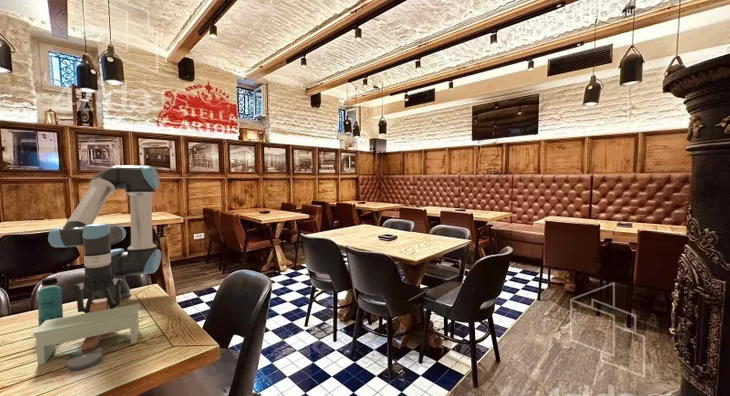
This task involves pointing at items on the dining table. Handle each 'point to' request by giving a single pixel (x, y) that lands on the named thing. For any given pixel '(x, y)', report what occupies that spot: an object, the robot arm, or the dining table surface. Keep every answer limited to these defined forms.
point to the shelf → (85, 328)
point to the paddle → (95, 306)
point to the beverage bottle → (49, 301)
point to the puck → (84, 359)
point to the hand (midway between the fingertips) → (100, 326)
